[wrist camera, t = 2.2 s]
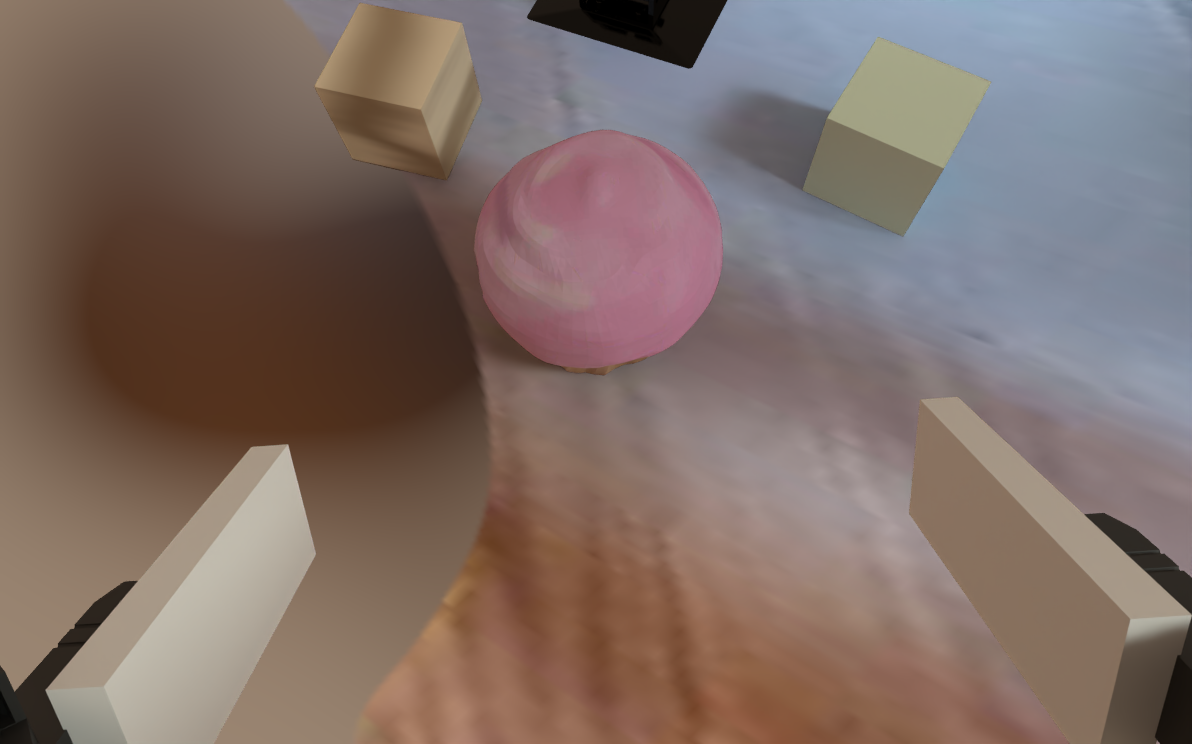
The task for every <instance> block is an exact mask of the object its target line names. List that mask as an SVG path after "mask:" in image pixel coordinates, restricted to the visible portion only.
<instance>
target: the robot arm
mask: <svg viewBox="0 0 1192 744" xmlns="http://www.w3.org/2000/svg"><path fill="white" fill-rule="evenodd" d="M909 514H910V516H911V517H912V518H913V520H914V521H915V523H916V524H917V526H918V527H919V528H920V530H921V531H922V533H923V534H924V536H925V537H926V539H927V540H928V541H929V543H930V544H931V546H932V547H933V549H934V550H935V551H936V553H937V554H938V556H939V557H940V559H941V560H942V561H943V563H944V564H945V566H946V567H947V569H948V570H949V571H950V573H951V574H952V576H953V577H954V579H955V580H956V582H957V583H958V584H959V586H960V587H961V589H962V590H963V592H964V593H965V594H966V596H967V597H968V599H969V600H970V602H971V603H972V604H973V606H974V607H975V609H976V610H977V612H978V613H979V614H980V616H981V617H982V619H983V620H984V622H985V623H986V625H987V626H988V627H989V629H990V630H991V632H992V633H993V635H994V636H995V637H996V639H997V640H998V642H999V643H1000V645H1001V646H1002V647H1003V649H1004V650H1005V652H1006V653H1007V655H1008V656H1009V658H1010V659H1011V660H1012V662H1013V663H1014V665H1015V666H1016V668H1017V669H1018V670H1019V672H1020V673H1021V675H1022V676H1023V678H1024V679H1025V680H1026V682H1027V683H1028V685H1029V686H1030V688H1031V689H1032V690H1033V692H1034V693H1035V695H1036V696H1037V698H1038V699H1039V701H1040V702H1041V703H1042V705H1043V706H1044V708H1045V709H1046V711H1047V712H1048V713H1049V715H1050V716H1051V718H1052V719H1053V721H1054V722H1055V723H1056V725H1057V726H1058V728H1059V729H1060V731H1061V732H1062V733H1063V735H1064V736H1065V738H1066V739H1067V741H1068V742H1069V744H1156V742H1157V740H1158V742H1159V743H1160V744H1192V578H1191V577H1190V576H1189V575H1188V574H1187V573H1186V572H1185V571H1180V570H1179V566H1178V565H1176V564H1175V563H1174V562H1173V561H1172V560H1171V559H1170V558H1168V557H1167V556H1166V555H1165V554H1160V550H1159V549H1158V548H1157V547H1156V546H1155V545H1154V544H1152V543H1151V542H1150V541H1149V540H1148V539H1147V538H1145V537H1144V536H1143V535H1142V534H1141V533H1140V532H1139V531H1137V530H1136V529H1134V528H1132V527H1130V526H1128V525H1126V524H1124V523H1122V522H1121V521H1119V520H1117V519H1115V518H1113V517H1111V516H1109V515H1107V514H1105V513H1096V514H1083V513H1082V512H1081V511H1080V510H1079V509H1078V508H1076V507H1075V506H1074V505H1073V504H1072V503H1071V502H1070V501H1069V500H1068V499H1067V498H1066V497H1065V496H1064V495H1062V494H1061V493H1060V492H1059V491H1058V490H1057V489H1056V488H1055V487H1054V486H1053V485H1052V484H1051V483H1050V482H1049V481H1047V480H1046V479H1045V478H1044V477H1043V476H1042V475H1041V474H1040V473H1039V472H1038V471H1037V470H1036V469H1035V468H1033V467H1032V466H1031V465H1030V464H1029V463H1028V462H1027V461H1026V460H1025V459H1024V458H1023V457H1022V456H1021V455H1020V454H1018V453H1017V452H1016V451H1015V450H1014V449H1013V448H1012V447H1011V446H1010V445H1009V444H1008V443H1007V442H1006V441H1004V440H1003V439H1002V438H1001V437H1000V436H999V435H998V434H997V433H996V432H995V431H994V430H993V429H992V428H991V427H989V426H988V425H987V424H986V423H985V422H984V421H983V420H982V419H981V418H980V417H979V416H978V415H977V414H975V413H974V412H973V411H972V410H971V409H970V408H969V407H968V406H967V405H966V404H965V403H964V402H963V401H962V400H960V399H959V398H958V397H949V398H935V399H921V400H920V406H919V416H918V427H917V437H916V447H915V458H914V468H913V478H912V489H911V499H910V509H909ZM315 555H316V552H315V548H314V544H313V540H312V536H311V533H310V528H309V525H308V521H307V517H306V513H305V509H304V506H303V501H302V497H301V493H300V489H299V486H298V482H297V478H296V474H295V470H294V466H293V462H292V459H291V454H290V450H289V447H288V444H287V445H273V446H259V447H251V448H250V450H249V451H248V452H247V453H246V454H245V456H244V457H243V458H242V459H241V460H240V461H239V463H238V464H237V465H236V466H235V467H234V468H233V470H232V471H231V472H230V473H229V474H228V475H227V477H226V478H225V479H224V480H223V482H222V483H221V484H220V485H219V486H218V487H217V488H216V490H215V491H214V492H213V493H212V494H211V496H210V497H209V498H208V499H207V500H206V501H205V503H204V504H203V505H202V506H201V507H200V509H199V510H198V511H197V512H196V513H195V514H194V516H193V517H192V518H191V519H190V520H189V522H188V523H187V524H186V525H185V526H184V527H183V529H182V530H181V531H180V532H179V533H178V534H177V536H176V537H175V538H174V539H173V540H172V542H171V543H170V544H169V545H168V546H167V548H166V549H165V550H164V551H163V552H162V553H161V555H160V556H159V557H158V558H157V559H156V561H155V562H154V563H153V564H152V565H151V566H150V568H149V569H148V570H147V571H146V572H145V574H144V575H143V576H142V577H141V578H140V579H139V580H138V581H128V582H123V583H122V584H120V585H119V586H117V587H116V588H114V589H113V590H111V591H110V592H109V593H107V594H106V595H104V596H103V597H102V598H100V599H99V600H97V601H96V602H95V603H94V604H93V605H92V606H91V607H90V608H89V609H88V610H87V611H86V613H85V614H84V615H83V616H82V617H81V618H80V619H79V620H78V622H77V623H76V624H75V628H74V629H70V631H69V632H68V633H67V634H66V635H65V636H64V637H63V638H62V639H61V641H60V642H59V643H58V647H57V648H53V649H52V651H51V652H50V653H49V654H48V655H47V656H46V657H45V658H44V660H43V661H42V662H41V663H40V664H39V665H38V666H37V667H36V669H35V670H34V671H33V672H32V673H31V674H30V675H29V676H28V677H27V679H26V680H25V681H24V682H23V683H22V684H21V685H20V686H19V688H18V689H17V690H16V691H15V692H14V690H13V688H12V686H11V684H10V681H9V679H8V677H7V675H6V673H5V671H4V670H3V669H2V668H1V666H0V744H214V743H215V741H216V739H217V737H218V735H219V733H220V731H221V730H222V728H223V726H224V724H225V722H226V720H227V719H228V717H229V715H230V713H231V711H232V709H233V707H234V706H235V704H236V702H237V700H238V698H239V696H240V694H241V693H242V691H243V689H244V687H245V685H246V683H247V681H248V680H249V678H250V676H251V674H252V672H253V670H254V668H255V666H256V665H257V663H258V661H259V659H260V657H261V655H262V653H263V651H264V650H265V648H266V646H267V644H268V642H269V641H270V639H271V636H272V635H273V633H274V631H275V629H276V628H277V626H278V624H279V622H280V620H281V618H282V616H283V615H284V612H285V611H286V609H287V607H288V605H289V603H290V601H291V600H292V598H293V596H294V594H295V592H296V590H297V588H298V586H299V585H300V583H301V581H302V579H303V577H304V575H305V574H306V572H307V570H308V568H309V566H310V564H311V563H312V561H313V559H314V557H315Z"/></svg>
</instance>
